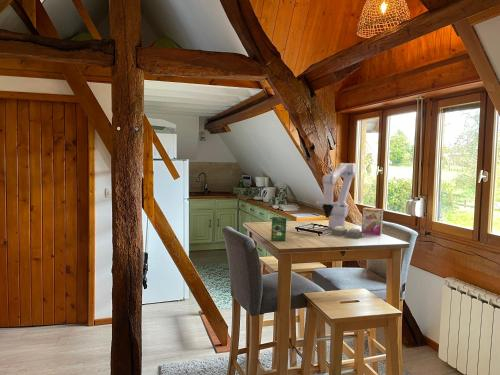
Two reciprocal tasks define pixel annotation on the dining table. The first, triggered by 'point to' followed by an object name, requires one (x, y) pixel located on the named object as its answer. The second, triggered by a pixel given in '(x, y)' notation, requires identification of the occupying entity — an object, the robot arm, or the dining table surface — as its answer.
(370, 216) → the candy bar box
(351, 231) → the light gray key
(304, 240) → the dining table surface
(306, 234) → the dining table surface
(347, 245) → the dining table surface
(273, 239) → the coffee box
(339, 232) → the key panel
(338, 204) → the robot arm
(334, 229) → the cream key
